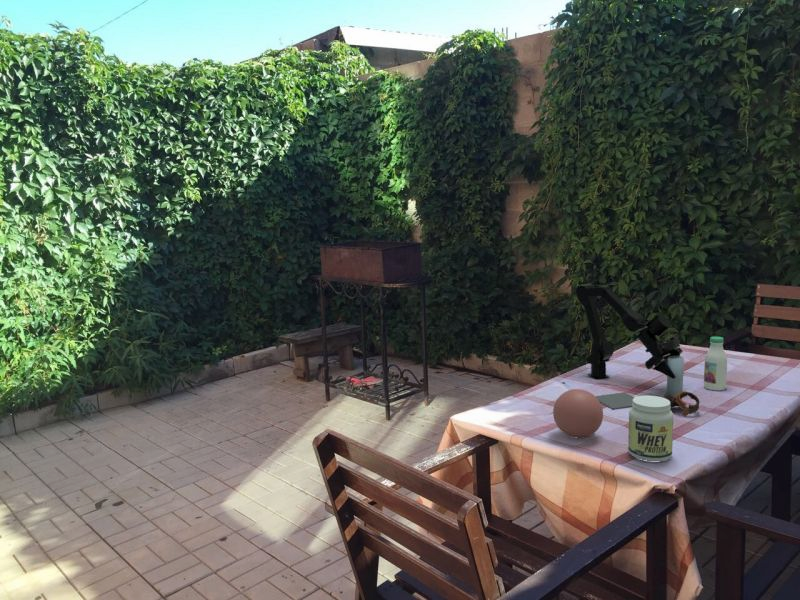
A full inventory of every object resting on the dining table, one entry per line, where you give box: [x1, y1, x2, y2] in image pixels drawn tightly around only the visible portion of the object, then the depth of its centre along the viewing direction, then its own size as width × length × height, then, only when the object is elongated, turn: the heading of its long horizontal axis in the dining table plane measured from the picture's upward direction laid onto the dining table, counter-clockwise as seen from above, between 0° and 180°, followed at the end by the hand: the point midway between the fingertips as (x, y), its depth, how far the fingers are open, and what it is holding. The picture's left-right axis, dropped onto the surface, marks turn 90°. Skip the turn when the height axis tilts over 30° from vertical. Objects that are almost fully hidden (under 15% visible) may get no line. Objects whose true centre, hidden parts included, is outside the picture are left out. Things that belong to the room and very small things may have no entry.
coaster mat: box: [594, 392, 636, 410], centre depth 237 cm, size 14×14×1 cm
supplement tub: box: [627, 395, 674, 462], centre depth 188 cm, size 12×12×17 cm
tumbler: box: [666, 355, 685, 396], centre depth 241 cm, size 6×6×14 cm
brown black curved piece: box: [662, 390, 701, 417], centre depth 223 cm, size 12×10×8 cm
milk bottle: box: [703, 336, 728, 392], centre depth 245 cm, size 8×8×20 cm
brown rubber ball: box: [552, 388, 604, 439], centre depth 207 cm, size 15×20×15 cm
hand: (678, 376), depth 240 cm, fingers open, 6 cm apart
